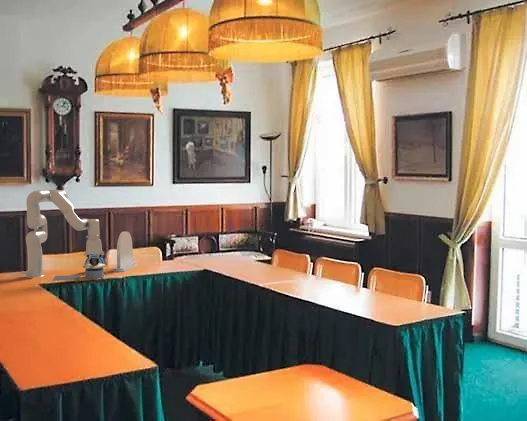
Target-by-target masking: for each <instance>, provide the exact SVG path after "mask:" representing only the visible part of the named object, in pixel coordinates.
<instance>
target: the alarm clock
mask: <svg viewBox="0 0 527 421" xmlns="http://www.w3.org/2000/svg"><path fill="white" fill-rule="evenodd" d="M101 254H102V253H101ZM87 255H88V254H87ZM99 255H100V254H99ZM85 257H86V259H85V261H84V265H86V264H89V258H88V257H87V256H85ZM103 257H104V255H102V256H101V257H100V258H99V263H98V264H105V260H104V258H103ZM91 258H97V254H96V255H91ZM86 269H89V268H85V270H86Z"/></svg>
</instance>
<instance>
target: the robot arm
mask: <svg viewBox="0 0 527 421" xmlns="http://www.w3.org/2000/svg"><path fill="white" fill-rule="evenodd" d="M25 201H26V223H27V227H28V228H29V229H31V230H32V231H30V232H28V233H27V234H26V236H25V244H26V249H27V270H26V271H24V270H23V271H20V272H21V275H25V278H26V279H33V278H39V277H44V276H45V275H46V273H45V274H44V272H43V271H44V270H43V267H44V266H43V264H44V263H43V248H42V243H45V242H46V241H47V239H48V235H49V234H48V220H47V217H46V216H45V215H44V214H41V208H40V203H45V202H46V203H53V204H54V205H55V206H56V207H57V208H58V210H59V211H60V212H61V213H62V214H63V216H64V218H65V220H66V222H67V223H68V225H70V227H72V228H73V229H74V230H76V231H85V230H87V235H86V236H85V239H86V242H85V243H86V245H85V252H84V253H83V255H84V256H85V257H86V256H87V257H86V258H89V264H90V265H92V259H91V255H96V254H97V265H98V263H99V258H100V257H101V256H102V255H103V256H104V255H105V252H104V251H103V249H102V248H103V246H102V240H101V239H100V238H101V236H100V235H101V234H100V220H99V219H96V218H91V219H90V218H80V217H78V215H77V214H76V213H75V211H74V207H75V206H74V205H73V203H72V202H71V201H70V200H69V199H68V194H67V192H66V191H65V190H62V189H46V188H45V189H37V190H33V191H32V192H31V191H30V193H29V194H27V197H26V200H25ZM101 253H102V254H101ZM87 254H88V255H87ZM99 254H100V255H99Z"/></svg>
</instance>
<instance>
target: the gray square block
mask: <svg viewBox="0 0 527 421" xmlns="http://www.w3.org/2000/svg"><path fill="white" fill-rule="evenodd" d="M84 277H85V278H86V279H92V280H93V279H101V280H102V279H104V278H105V272H104V267H103V268H94V269H86V268H85V270H84Z"/></svg>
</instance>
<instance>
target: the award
mask: <svg viewBox="0 0 527 421" xmlns="http://www.w3.org/2000/svg"><path fill="white" fill-rule="evenodd" d="M133 251H134V250H133V239H132V235H131V233H130V232H129V231H121V232H120V234H119V236H118V238H117V244H116V267H113V268H112V272H117V273H118V272H119V273H124V271H125V272H127V271H129V270H132V269H134V268H136V267H138V266H139V262H133V259H134V258H133ZM133 267H134V268H133ZM131 268H132V269H131Z"/></svg>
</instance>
